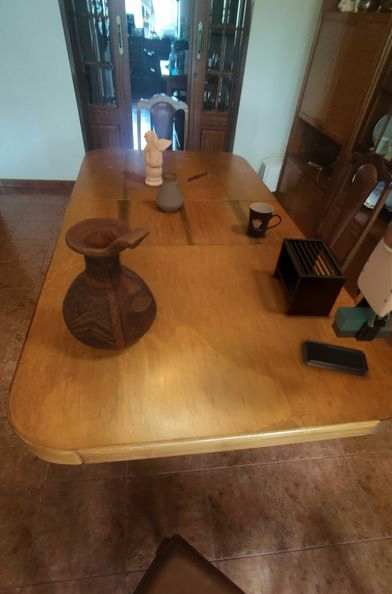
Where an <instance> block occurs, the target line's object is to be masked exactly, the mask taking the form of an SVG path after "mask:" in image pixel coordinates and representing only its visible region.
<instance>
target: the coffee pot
mask: <svg viewBox="0 0 392 594" xmlns="http://www.w3.org/2000/svg"><path fill="white" fill-rule="evenodd" d="M205 176H207V177H208V179H210V174H209V172H204V173H203V172H202V173H201V174H195V175H194V176H191V177H188V178H187V179H183V180H180V181H177V178H178V177H179V175H178V173H175V172H172V171H165V172H162V174H161V178H162V180H163V182H162V184H161V185H160V186H159V190H158V191H157V194H156V198H155V203H156V206H157V207H158V208H160V210H161V211H164V212H167V213H173V212H177V211H178V210H179V209H180V208H182V206H183V204H184V199H183V195H182V194H181V193H182V192H181V191H180V188H179V186H180V185H182V184H184V183H186V182H191V181H194V180H198V179H200V178H202V177H205Z"/></svg>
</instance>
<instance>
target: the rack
mask: <svg viewBox="0 0 392 594" xmlns="http://www.w3.org/2000/svg"><path fill="white" fill-rule="evenodd" d="M323 255H324V256H323ZM319 256H320V258H319ZM325 258H326V259H325ZM320 259H321V260H320ZM326 260H327V261H326ZM322 262H323V263H322ZM327 262H328V263H327ZM323 264H324V265H323ZM328 264H329V265H330V266H329V265H328ZM319 266H320V267H319ZM325 267H326V268H325ZM330 267H331V268H330ZM320 268H321V269H320ZM326 269H327V270H326ZM331 269H332V270H331ZM321 270H322V271H323V273H324V274H323V273H322V271H321ZM327 271H328V272H329V274H328V272H327ZM272 276H273V278H280V280H281V282H282V285H283V288H284V290H285V293H286V296H287V299H288V302H289V305H288V308H287V310H286V315H287V316H298V317H299V316H300V317H329V316H330V314H331V312H332V310H333V308H334V306H335V304H336V302H337V299H338V297H339V295H340V293H341V291H342V290H343V288H344V285H345V283H346V282H347V279H348V278H347V276H346V275H345V273H344V272H343V271H342V269H341V267H340V265H339V264H338V262H337V261H336V259H335V258H334V256H333V255H332V253H331V252H330V250H329V248H328V246H327V245H326V242H325V241H324V239H315V238H296V237H295V238H293V237H283V240H282V243H281V246H280V249H279V253H278V257H277V261H276V264H275V268H274V271H273V274H272Z"/></svg>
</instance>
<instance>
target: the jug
mask: <svg viewBox="0 0 392 594" xmlns="http://www.w3.org/2000/svg"><path fill="white" fill-rule="evenodd" d="M66 230H67V231H66V232H65V235H64V241H65V243H66V246H67V247H68V248H69V249H70V250H71V251H73V252H75V253H76V254H80V255H82V256H83V258H84V263H85V264H84V265H85V267H84V269H83V270H82V271H81V272H79V274H78V275H77V276H75V278H74V279H73V280H72V282H71V283H70V285H69V287H68V288H67V291H66V293H65V295H64V298H63V301H62V310H61V312H62V317H63V322H64V323H65V325H66V327H67V329H68V331H69V332H70V334H71V335H72V336H73V338H75V339H76V340H78V341H79V342H80V343H82V344H84V345H85V346H87V347H89V348H92V349H97V350H102V351H103V350H104V351H116V350H122V349H125V348H128V347H130V346H132V345H133V344H134V343H136V342H137V341H139V340H140V339H141V338H142V337H143V336H144V335H146V334H147V332H148V331H149V330H150V329H151V327H152V325H153V324H154V322H155V320H156V317H157V311H158V308H157V307H158V306H157V302H156V300H155V297H154V294H153V292H152V290H151V289H150V286H148V284H147V283H146V282H145V281H144V279H143V278H142V277H141V276H140V275H139V274H138V273H137V272H136V271H134V270H133V269H131V268H130V267H128V266H127V265H124V264H121V261H120V257H121V256H120V255H121V253H122V252H123V251H125V250H127V249H129V250H134V249H136V248H137V247H139V245H140V244H141V243H142V241H144V240H145V238H146V237H148V236H149V235H150V230H149V229H148V228H147V227H139V228H135V229H132V228H131V227H130V225H128V224H127V222H124V221H122V220H119V219H116V218H111V217H91V218H86V219H82V220H80V221H78V222H76V223H75V224H73V225H71V226H70V227H69V228H68V229H66Z"/></svg>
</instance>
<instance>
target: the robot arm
mask: <svg viewBox="0 0 392 594" xmlns="http://www.w3.org/2000/svg"><path fill="white" fill-rule="evenodd" d="M356 279H357V297H356V298H355V299H354V301H353V303H354V306H353V307H372V309H373V311H372V313H371V316H370V318H369V320H368V322H367V323H364V324H363V326H362V327H361V329H360V331H359V332H358V334H357V335H356V337H355V338H354V339H355V341H356V342H372V341H374V340H375V339H376V338H375V337H376V335H377V334H378V332H379V331H380V329H381V328H382V327H384V328H387V329H390V330H392V221H390V224H389V226H388V227H387V229H386V232H385V234H384V235H383V237H382V238H381V239H380V241H379V242H378V243H377V245H376V246H375V247H374V249H373V251H372V252H371V254H370V256H369V257H368V259H367V260H366V263H364V266H363V268H362V270H361V272H360V274H359V276H358V277H357V278H356ZM378 316H380V317H382V319H379V320H377V318H378Z"/></svg>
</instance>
